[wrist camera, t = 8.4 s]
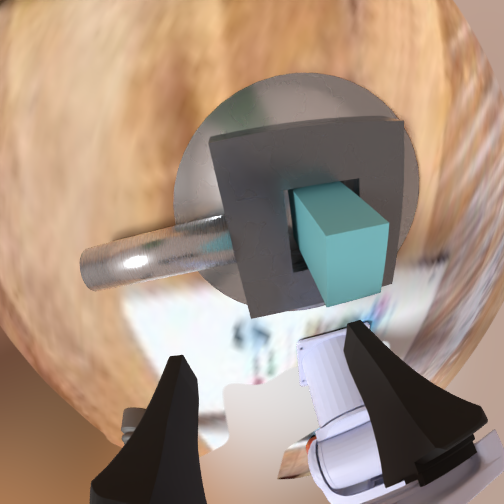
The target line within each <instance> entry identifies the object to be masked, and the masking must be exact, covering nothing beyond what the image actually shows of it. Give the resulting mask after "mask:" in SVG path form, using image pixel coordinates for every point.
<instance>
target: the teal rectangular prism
mask: <svg viewBox="0 0 504 504" xmlns="http://www.w3.org/2000/svg"><path fill="white" fill-rule="evenodd" d="M288 195H289V203H290V212H291V220H292V229H293V237H294V239H295V241H296V243H297V246H298V248H299V250H300V252H301V254H302V256H303V258H304V260H305V262H306V264H307V266H308V268H309V270H310V272H311V275H312V277H313V279H314V281H315V283H316V285H317V287H318V290H319V292H320V294H321V296H322V298H323V300H324V303H325V305H326V307H330V306H334V305H338V304H342V303H345V302H349V301H353V300H356V299H360V298H363V297H367V296H370V295H374V294H377V293H381V287H382V280H383V274H384V267H385V259H386V251H387V242H388V232H389V222H388V221H387V220H385V219H384V218H383V217H382V216H381V215H380V214H379V213H378V212H376V211H375V210H374V209H373V208H372V207H371V206H369V205H368V204H367V203H366V202H365V201H364V200H362V199H361V198H360V197H359V196H358V195H356V194H355V193H354V192H353V191H351V190H350V189H349V188H348V187H346V186H345V185H344V184H343V183H341V182H340V181H337V182H330V183H324V184H318V185H312V186H306V187H300V188H294V189H289V190H288Z"/></svg>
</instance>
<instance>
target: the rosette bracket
mask: <svg viewBox="0 0 504 504" xmlns="http://www.w3.org/2000/svg"><path fill="white" fill-rule="evenodd" d="M337 181H340V182H341V183H343V184H344V185H345V186H346V187H348V188H349V189H350V190H351V191H353V192H354V193H355V194H356V195H358V196H359V197H360V198H361V199H362V200H364V201H365V202H366V203H367V204H368V205H369V206H371V207H372V208H373V209H374V210H375V211H376V212H378V213H379V214H380V215H381V216H382V217H383V218H384V219H385V220H387V221H388V222H389V232H388V242H387V251H386V259H385V267H384V274H383V280H382V286H386V285H389V284H392V281H393V275H394V269H395V263H396V257H397V252H398V250H399V249H400V247H401V245H402V244H403V242H404V240H405V238H406V236H407V234H408V232H409V230H410V227H411V224H412V222H413V219H414V215H415V212H416V208H417V202H418V195H419V173H418V164H417V160H416V156H415V152H414V148H413V146H412V143H411V141H410V138H409V136H408V134H407V132H406V130H405V129H404V121H403V120H399V119H398V118H397V117H396V115H395V114H394V113H393V111H392V110H391V109H390V108H389V107H388V106H387V105H386V104H385V103H384V102H383V101H381V100H380V99H379V98H378V97H376V96H375V95H374V94H372V93H371V92H369V91H368V90H367V89H365V88H363V87H361V86H359V85H357V84H355V83H353V82H351V81H348V80H345V79H342V78H339V77H335V76H331V75H325V74H318V73H292V74H286V75H279V76H275V77H271V78H268V79H265V80H262V81H259V82H256V83H254V84H252V85H250V86H248V87H246V88H244V89H242V90H240V91H238V92H236V93H235V94H234V95H232V96H231V97H229V98H228V99H227V100H225V101H224V102H222V103H221V104H220V105H219V106H218V107H217V108H216V109H215V110H214V111H213V112H212V113H211V114H210V115H209V116H208V117H207V118H206V119H205V120H204V122H203V123H202V124H201V126H200V127H199V128H198V129H197V131H196V132H195V134H194V135H193V137H192V139H191V140H190V142H189V144H188V146H187V148H186V150H185V152H184V154H183V157H182V160H181V163H180V165H179V168H178V172H177V177H176V182H175V187H174V215H175V223H176V225H175V226H171V227H167V228H163V229H159V230H155V231H151V232H147V233H143V234H139V235H135V236H131V237H128V238H124V239H120V240H116V241H113V242H109V243H105V244H102V245H98V246H95V247H91V248H88V249H85V250H84V251H83V252H82V254H81V258H80V271H81V275H82V278H83V281H84V283H85V284H86V286H87V287H88V288H89V289H90V290H92V291H100V290H105V289H110V288H115V287H120V286H125V285H130V284H135V283H140V282H145V281H150V280H155V279H160V278H165V277H170V276H175V275H180V274H185V273H190V272H195V271H198V272H199V273H200V274H201V275H202V277H203V278H204V279H206V280H207V281H208V282H209V283H210V284H211V285H212V286H213V287H215V288H216V289H218V290H219V291H220V292H222V293H223V294H225V295H227V296H228V297H230V298H232V299H234V300H236V301H238V302H241V303H244V304H246V305H248V309H249V312H250V316H251V319H252V318H257V317H262V316H267V315H271V314H276V313H281V312H285V311H297V310H306V309H311V308H316V307H320V306H323V305H325V303H324V300H323V298H322V296H321V294H320V292H319V290H318V287H317V285H316V283H315V281H314V279H313V277H312V275H311V272H310V270H309V268H308V266H307V264H306V262H305V260H304V258H303V256H302V254H301V252H300V250H299V248H298V246H297V243H296V241H295V239H294V237H293V229H292V220H291V212H290V203H289V195H288V190H289V189H294V188H300V187H306V186H312V185H318V184H324V183H330V182H337Z"/></svg>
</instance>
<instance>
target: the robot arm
mask: <svg viewBox="0 0 504 504" xmlns="http://www.w3.org/2000/svg"><path fill="white" fill-rule="evenodd" d="M369 328H370V325H369V323H367V322H366V323H363V322H362V321H361V320H358V321H355V322H351V323H348V324H347V328H345V329H342V330H338V331H335V332H331V333H327V334H323V335H320V336H316V337H312V338H308V339H304V340H300V341H298V342H297V344H296V345H297V357H298V368H299V381H300V386H306V385H308V386H309V390H310V394H311V397H312V401H313V404H314V408H315V412H316V415H317V419H318V422H319V426H320V429H319V430H316V431H315V433H316V437H317V439H315V440H313V441H312V443H311V445H310V448H309V450H308V464H309V468H310V472H311V475H312V477H313V479H314V481H315V482H316V484H317V485H318V487H319V488H320V489H322V491H323V492H324V494H325V496H326V497H327V499H328V501H329V502H330V503H331V504H467V503H468V502H470V501H471V500H472V499H473V498H474V497H475V496H476V495H478V494H479V493H480V492H481V491H482V490H483V489H484V488H485V487H487V486H488V485H489V484H490V483H491V482H492V481H493V480H494V479H495V478H497V477H498V476H499V475H500V474H501V473H502V472H503V471H504V448H503V446H502V443H501V441H500V438H499V436H498V434H497V432H496V430H495V429H494V430H492V431H491V432H490V433H489V434H487V435H486V436H485V437H483V438H482V439H481V440H479V441H478V442H476V443H473V440H474V439H475V437H474V435H473V433H475V432H476V431H477V430H479V429H480V428H481V427H482V426H484V425H485V424H486V423H487V422H488V419H487V417H486V415H485V413H484V411H483V409H482V408H481V406H479V405H476V404H473V403H471V402H468V401H466V400H463V399H461V398H459V397H457V396H455V395H453V394H451V393H449V392H447V391H445V390H443V389H442V388H440V387H438V386H436V385H435V384H433V383H432V382H430V381H429V380H427V379H426V378H424V377H423V376H421V375H420V374H419V373H417V372H416V371H415V370H413V369H412V368H411V367H409V366H408V365H407V364H406V363H405V362H403V361H402V360H401V359H400V358H399V357H398V356H397V355H395V354H394V353H393V352H392V351H391V350H390V349H389V348H388V347H387V346H386V345H385V344H384V343H383V342H382V341H381V340H380V339H379V338H378V337H377V336H376V335H375V334H374V333H373V332H372V331H371V330H370V329H369ZM198 410H199V395H198V383H197V378H196V376H195V374H194V373H193V371H192V369H191V368H190V366H189V364H188V363H187V361H186V359H185V357H184V356H183V355H178V356H170V357H169V359H168V361H167V364H166V366H165V369H164V371H163V374H162V376H161V379H160V381H159V383H158V386H157V388H156V390H155V392H154V394H153V397H152V399H151V401H150V403H149V405H148V407H147V409H146V411H145V413H144V415H143V417H142V418H141V420H140V422H139V424H138V425H137V427H136V429H135V430H134V432H133V433H132V435H131V436H130V438H129V439H128V441H127V442H126V444H125V445H124V446H123V448H122V449H121V451H120V452H119V453H118V454H117V455H116V457H115V458H114V459H113V460H112V461H111V462H110V464H109V465H108V466H107V467H106V468H105V469H104V470H103V471H102V472H101V473H100V474H99V475H98V476H97V477H96V478H95V479H93V480H92V482H91V488H90V504H207V502H206V499H205V493H204V488H203V483H202V477H201V470H200V463H199V454H198Z"/></svg>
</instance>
